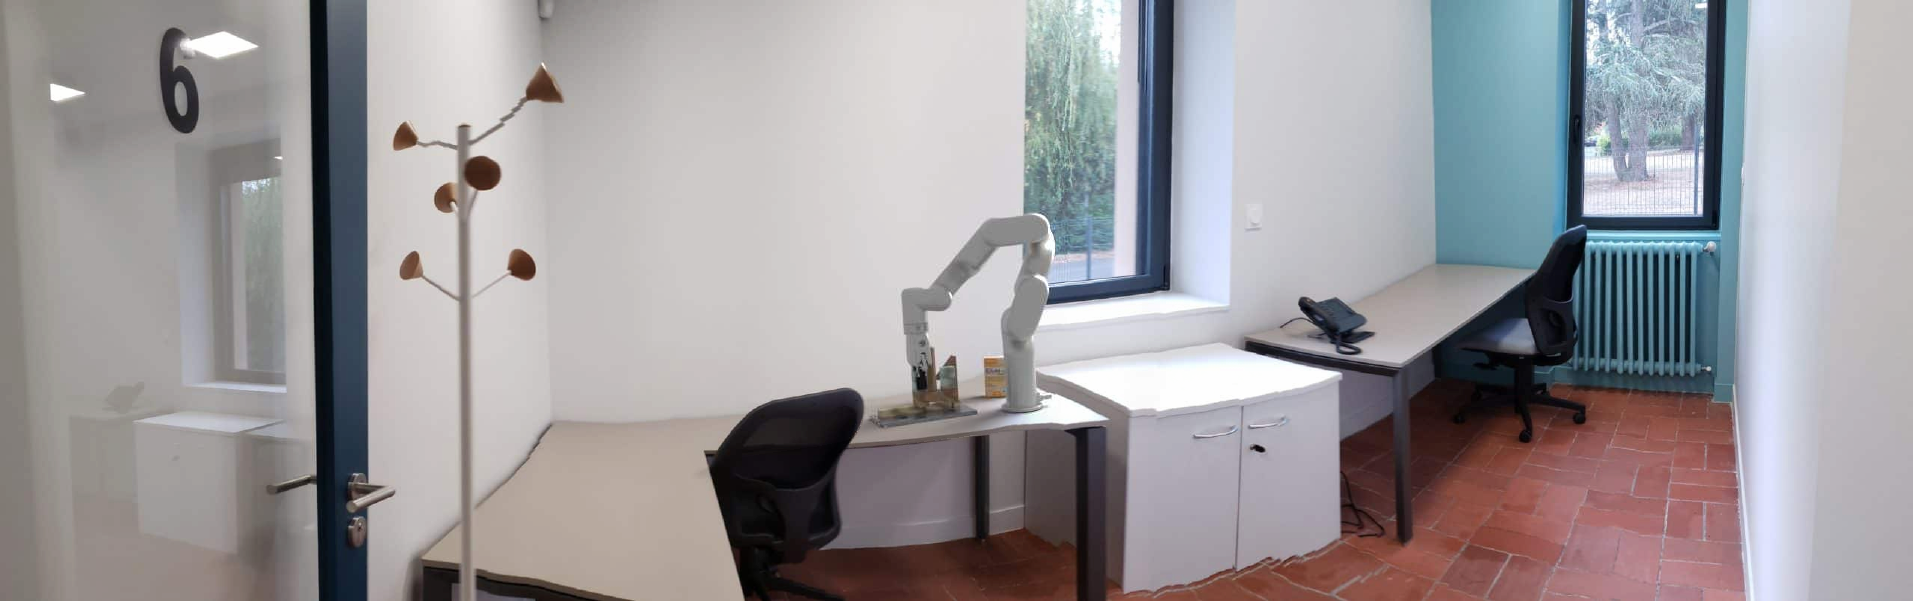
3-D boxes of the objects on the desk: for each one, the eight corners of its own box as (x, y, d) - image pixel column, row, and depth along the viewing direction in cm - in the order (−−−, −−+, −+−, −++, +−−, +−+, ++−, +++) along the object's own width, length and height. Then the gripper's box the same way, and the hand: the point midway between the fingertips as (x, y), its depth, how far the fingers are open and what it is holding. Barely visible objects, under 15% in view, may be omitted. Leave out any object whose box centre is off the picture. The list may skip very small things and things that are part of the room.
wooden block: (959, 399, 341) (955, 344, 339) (929, 404, 336) (925, 348, 334) (953, 397, 344) (950, 343, 342) (924, 402, 339) (920, 347, 337)
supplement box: (985, 397, 340) (982, 358, 339) (987, 394, 345) (984, 355, 344) (1010, 397, 339) (1008, 357, 338) (1012, 394, 344) (1009, 354, 342)
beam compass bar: (957, 404, 327) (954, 363, 326) (965, 408, 321) (963, 366, 320) (878, 416, 318) (875, 374, 316) (885, 420, 312) (882, 377, 310)
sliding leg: (924, 408, 323) (921, 368, 321) (931, 411, 317) (928, 371, 315) (911, 410, 321) (909, 370, 320) (919, 413, 315) (916, 373, 314)
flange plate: (960, 405, 331) (959, 402, 331) (977, 413, 318) (977, 409, 318) (869, 418, 320) (869, 415, 320) (883, 427, 307) (883, 423, 307)
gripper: (937, 330, 310) (941, 391, 312) (918, 324, 325) (922, 383, 327) (913, 333, 307) (917, 394, 309) (895, 327, 322) (899, 386, 324)
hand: (920, 388), depth 318 cm, fingers closed on sliding leg, 2 cm apart
